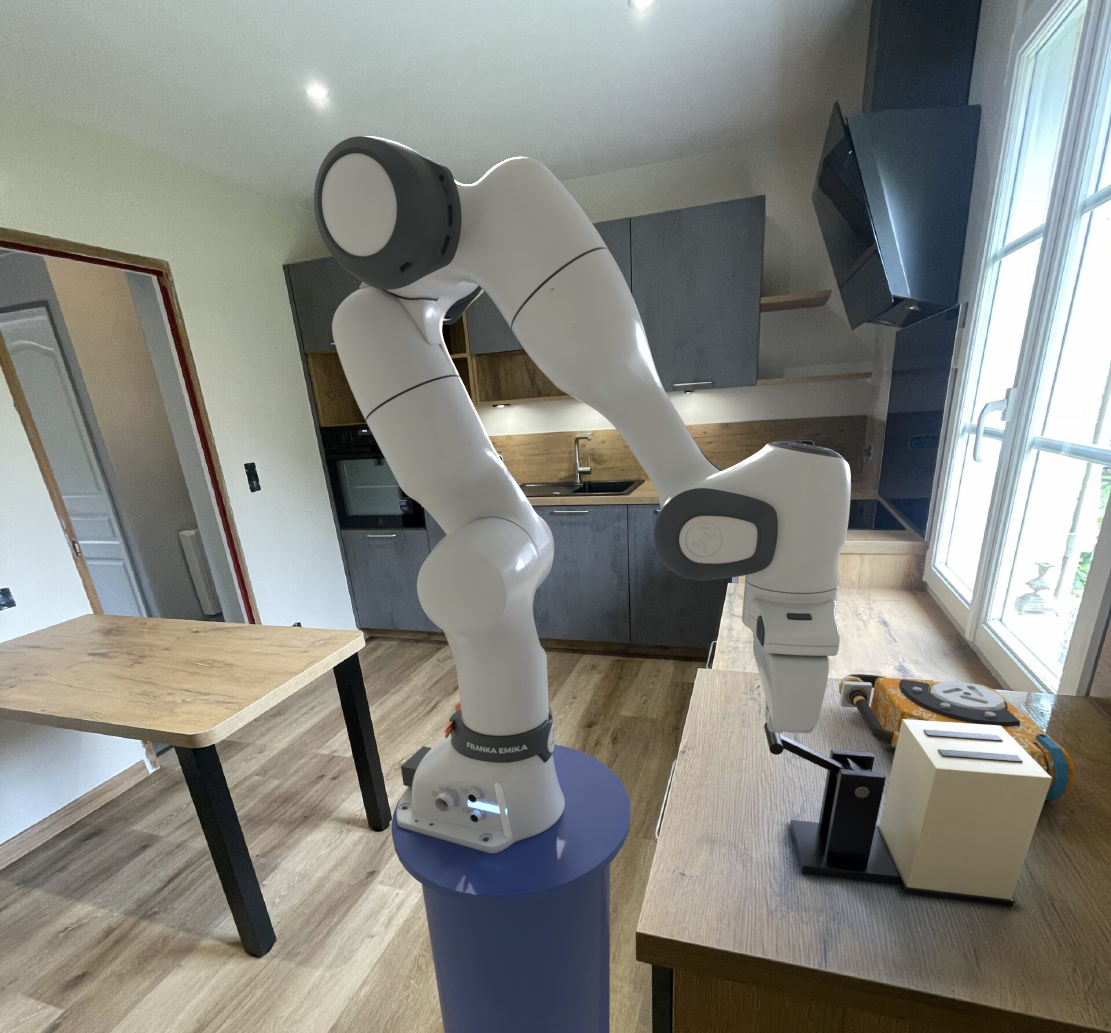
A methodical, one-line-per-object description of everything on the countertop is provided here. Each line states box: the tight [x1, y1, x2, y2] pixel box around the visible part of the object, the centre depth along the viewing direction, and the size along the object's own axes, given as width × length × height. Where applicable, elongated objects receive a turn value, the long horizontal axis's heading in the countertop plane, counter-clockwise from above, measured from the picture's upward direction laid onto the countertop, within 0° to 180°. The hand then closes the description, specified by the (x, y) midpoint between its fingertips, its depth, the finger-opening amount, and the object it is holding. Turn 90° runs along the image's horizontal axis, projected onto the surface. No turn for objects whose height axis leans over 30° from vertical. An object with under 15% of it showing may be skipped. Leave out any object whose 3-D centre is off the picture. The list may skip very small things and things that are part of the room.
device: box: [838, 673, 1076, 801], centre depth 88 cm, size 23×8×30 cm
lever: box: [763, 721, 871, 779], centre depth 65 cm, size 12×5×2 cm, turn 78°
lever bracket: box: [789, 748, 899, 886], centre depth 66 cm, size 10×8×13 cm
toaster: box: [875, 719, 1052, 907], centre depth 64 cm, size 10×10×16 cm
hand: (774, 725), depth 64 cm, fingers closed
